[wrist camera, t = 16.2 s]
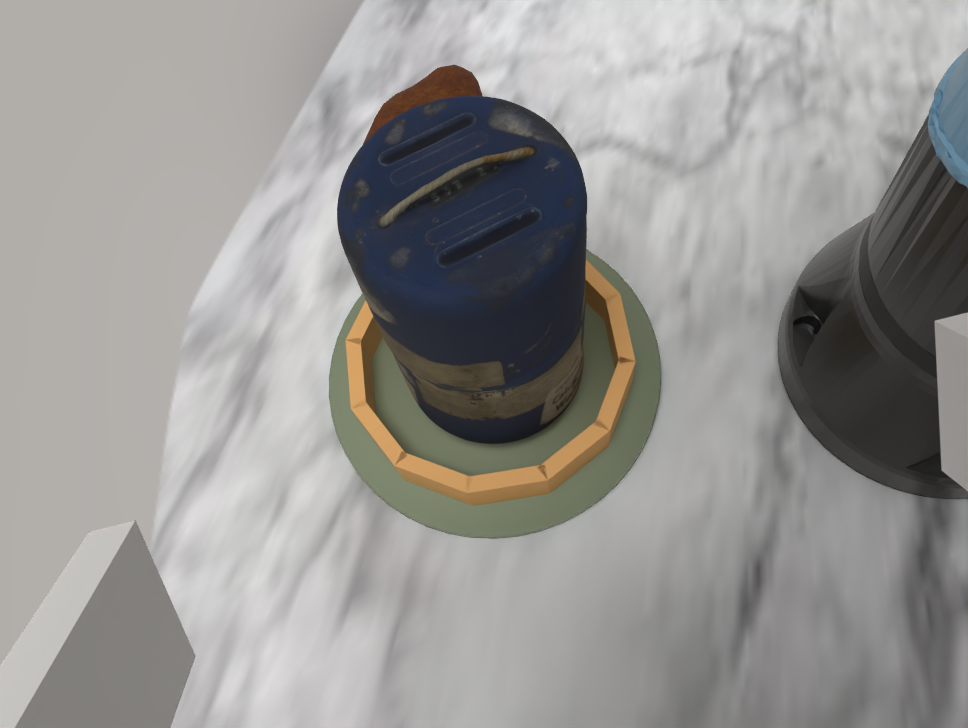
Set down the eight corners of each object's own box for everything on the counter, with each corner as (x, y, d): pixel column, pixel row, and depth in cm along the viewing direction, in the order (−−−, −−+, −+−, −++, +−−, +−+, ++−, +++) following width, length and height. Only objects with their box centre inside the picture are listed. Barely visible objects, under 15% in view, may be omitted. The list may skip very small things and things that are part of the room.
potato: (519, 122, 54) (511, 47, 48) (425, 265, 51) (404, 203, 45) (437, 91, 56) (420, 14, 50) (341, 227, 52) (310, 162, 46)
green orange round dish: (518, 182, 52) (514, 148, 49) (731, 393, 45) (741, 369, 42) (273, 358, 49) (252, 333, 46) (461, 612, 42) (452, 602, 39)
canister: (396, 314, 48) (300, 97, 32) (559, 272, 48) (546, 33, 32) (430, 473, 44) (341, 318, 28) (607, 427, 44) (622, 246, 28)
